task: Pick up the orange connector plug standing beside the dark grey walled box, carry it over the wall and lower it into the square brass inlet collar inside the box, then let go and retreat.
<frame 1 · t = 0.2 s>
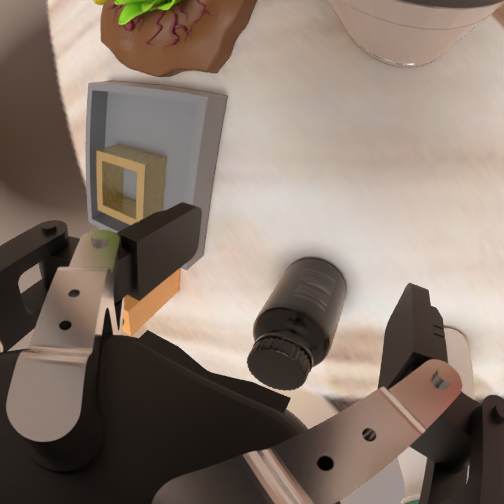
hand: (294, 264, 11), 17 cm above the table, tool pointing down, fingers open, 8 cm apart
inlet: (145, 177, 35), resting on walled box
supplement bottle: (315, 285, 32), on the table
connector: (167, 272, 40), on the table
milk bottle: (436, 350, 29), on the table
walled box: (152, 163, 33), on the table
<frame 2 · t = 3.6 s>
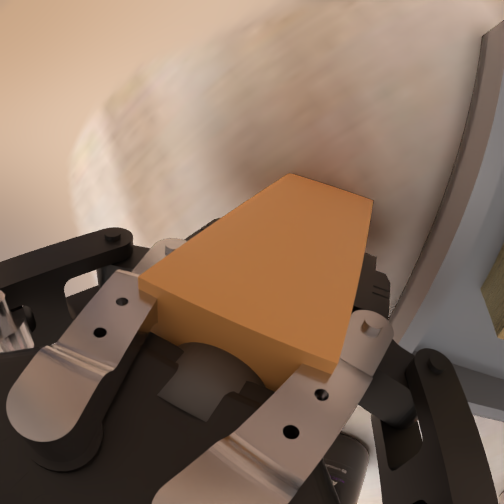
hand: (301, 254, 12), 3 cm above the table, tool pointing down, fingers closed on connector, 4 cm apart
supplement bottle: (330, 448, 22), on the table
connector: (319, 225, 15), on the table, touching gripper
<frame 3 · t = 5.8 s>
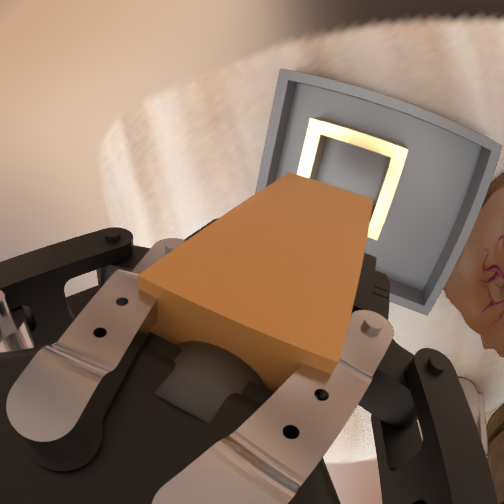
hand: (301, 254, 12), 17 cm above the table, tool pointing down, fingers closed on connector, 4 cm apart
inlet: (351, 169, 26), resting on walled box
connector: (319, 224, 15), point 14 cm above the table, touching gripper
walled box: (370, 187, 26), on the table
when the fingers open (6 cm above the table, at t = 7.8 s): connector drops 1 cm, resting on walled box.
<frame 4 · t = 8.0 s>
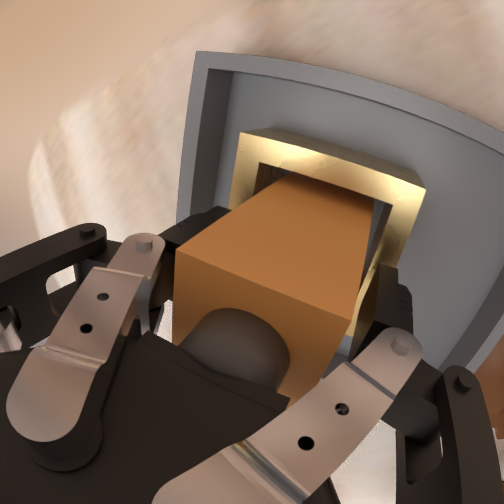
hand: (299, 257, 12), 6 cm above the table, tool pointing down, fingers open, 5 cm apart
inlet: (327, 211, 16), resting on walled box
connector: (325, 216, 16), point 1 cm above the table, touching walled box
walled box: (357, 239, 16), on the table
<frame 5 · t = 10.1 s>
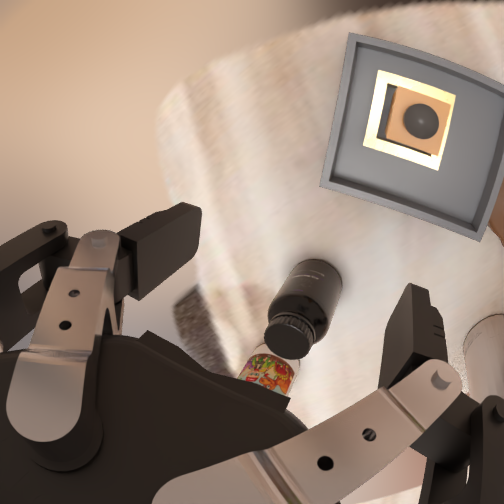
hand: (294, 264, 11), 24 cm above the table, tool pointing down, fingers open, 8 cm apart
inlet: (406, 118, 27), resting on walled box
supplement bottle: (316, 281, 40), on the table
connector: (407, 118, 26), point 1 cm above the table, touching walled box
milk bottle: (277, 358, 48), on the table
walled box: (422, 133, 27), on the table
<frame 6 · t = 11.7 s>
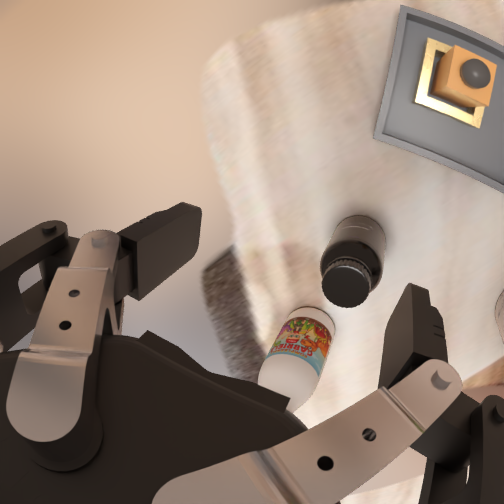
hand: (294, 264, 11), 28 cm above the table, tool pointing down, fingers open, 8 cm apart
inlet: (447, 85, 26), resting on walled box
supplement bottle: (359, 239, 39), on the table
connector: (449, 84, 25), point 1 cm above the table, touching walled box
milk bottle: (311, 325, 47), on the table
walled box: (461, 99, 26), on the table
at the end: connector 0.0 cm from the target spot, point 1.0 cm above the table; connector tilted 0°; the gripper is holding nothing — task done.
